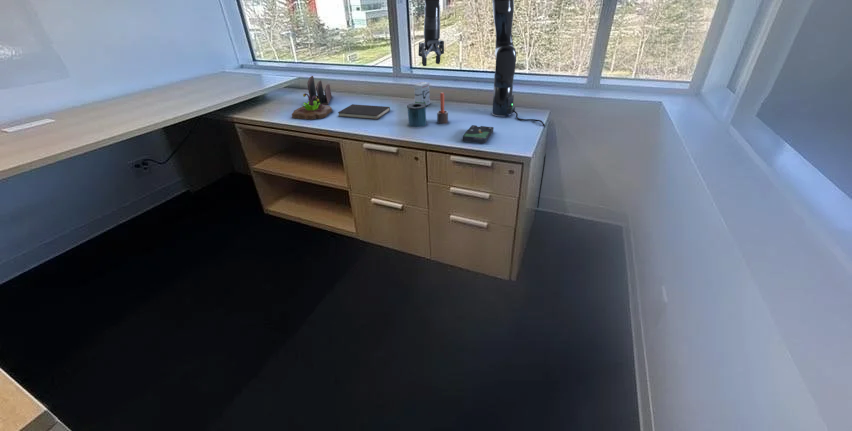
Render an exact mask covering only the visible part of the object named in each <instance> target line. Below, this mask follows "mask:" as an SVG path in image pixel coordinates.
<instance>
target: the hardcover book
mask: <svg viewBox="0 0 852 431" xmlns="http://www.w3.org/2000/svg"><path fill="white" fill-rule="evenodd" d="M390 111H391V107H390V106H382V105H369V104H368V105H367V104H355V103H354V104H353V103H352V104H350V105H349V106H346V107H345V108H343V109H341V110H339V111H337V114H338V117H339V118H349V119H350V118H352V119H364V120H375V121H376V120H379V119H381V118H382V117H384V116H385V115H387V114H388V113H389V112H390Z"/></svg>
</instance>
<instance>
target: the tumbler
mask: <svg viewBox="0 0 852 431" xmlns="http://www.w3.org/2000/svg"><path fill="white" fill-rule="evenodd" d="M419 106H420V105H415V106H413V107H419ZM407 118H408V119H407V120H408V126H409V127H411V128H422V127H425V126H426V125H427V106H426V107H425V108H423V109H409V108H407Z"/></svg>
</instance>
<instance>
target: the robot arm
mask: <svg viewBox="0 0 852 431" xmlns="http://www.w3.org/2000/svg"><path fill="white" fill-rule="evenodd" d="M491 2H492V15H493V24H494V29H495V50H494V57H495V71H494V75H493V96H492V109H491V110H492V111H491V112H492V113H491V114H492V116H494V117H498V118H508V117H510V116H511V115H513V114H514V113H515V114H516V115H515V118H516V120H517V121H529V122H530V121H533V122H540V123H541V125H542V126H543V127H546V124H545V123H544V122H543V120H541V119H535V118H519V117H518V112H517V111H516V106H514V98H515V97H514V96H515V95H514V94H513V90H514V79H515V73H516V64H517V50H516V48H515V47H514V42H513V32H512V31H513V21H514V12H515V0H492V1H491ZM423 39H424V42H421V41H420V42H418V56H419V57H420V58H421V66H423V67H427V65H428V63H427V62H428V59H427V57H428V55H430V53H431V52H433V53H435V65H440V64H441V56H442V55H444V54H445V41H444V40H441V3H440V0H424V20H423ZM546 157H547V152H545V153H544V157H543V164H542V171H541V178H540V185H539V192H538V197H537V204H536V205H537V206H536V208H537V209H539V207H540V199H541V193H542V192H541V191H542V185H543V181H544V180H543V179H544V173H545V167H546V166H545V165H546Z"/></svg>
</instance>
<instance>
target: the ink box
mask: <svg viewBox="0 0 852 431" xmlns="http://www.w3.org/2000/svg"><path fill="white" fill-rule="evenodd" d="M413 85H414V86H413V88H414V89H413V90H414V91H413V92H414V103H424V104H426V106H428V105H431V98H430V97H431V95H430V93H431V92H430V82H426V81H421V82H418V83H415V84H413Z"/></svg>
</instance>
